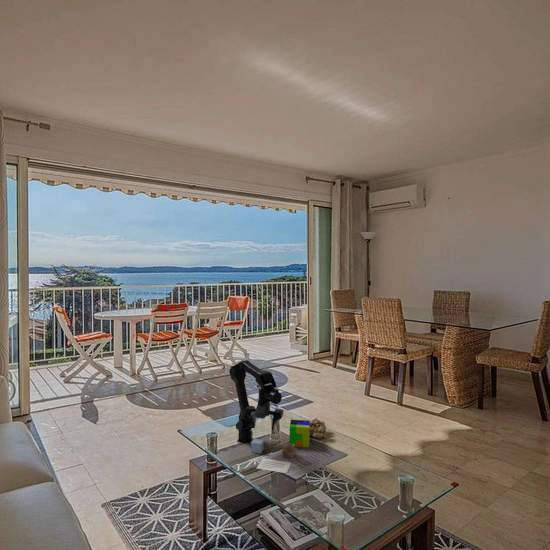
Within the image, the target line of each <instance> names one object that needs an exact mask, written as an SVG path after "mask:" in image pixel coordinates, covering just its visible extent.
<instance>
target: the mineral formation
mask: <svg viewBox="0 0 550 550" xmlns="http://www.w3.org/2000/svg"><path fill="white" fill-rule="evenodd" d="M309 421H310V433H309V437H310V436H311V437H314V438H316V439H320V438H321V439H323V438H327V435H326V433H327V426H326V425H325V424H326V423H325V421H324V420H322V421H321V420H320V419H318V418H317V417H315V418H314V419H312V420H309Z"/></svg>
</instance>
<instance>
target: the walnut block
mask: <svg viewBox="0 0 550 550" xmlns="http://www.w3.org/2000/svg"><path fill="white" fill-rule="evenodd" d="M295 451H296V447H295V444H290V443H288V442H284V443H283V445H282V451H281V452H282V455H281V456H282V458H288V459H293V458H294V456H295V454H296V453H295Z"/></svg>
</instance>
